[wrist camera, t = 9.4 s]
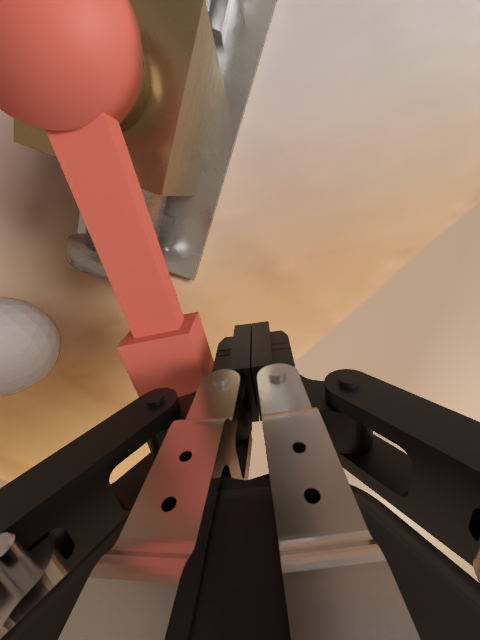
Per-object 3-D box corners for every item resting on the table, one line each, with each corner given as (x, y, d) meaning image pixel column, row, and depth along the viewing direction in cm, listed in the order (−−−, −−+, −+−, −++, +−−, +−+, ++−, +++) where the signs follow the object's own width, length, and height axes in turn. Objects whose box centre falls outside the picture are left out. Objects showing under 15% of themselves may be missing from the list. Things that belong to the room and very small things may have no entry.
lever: (-42, -29, 8) (-131, -97, 6) (109, -88, 7) (63, -182, 5) (148, 400, 14) (133, 431, 12) (240, 384, 13) (238, 414, 11)
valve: (82, 238, 21) (-65, 276, 11) (121, -103, 14) (-171, -787, 4) (195, 277, 22) (152, 344, 12) (283, -24, 15) (350, -435, 5)
